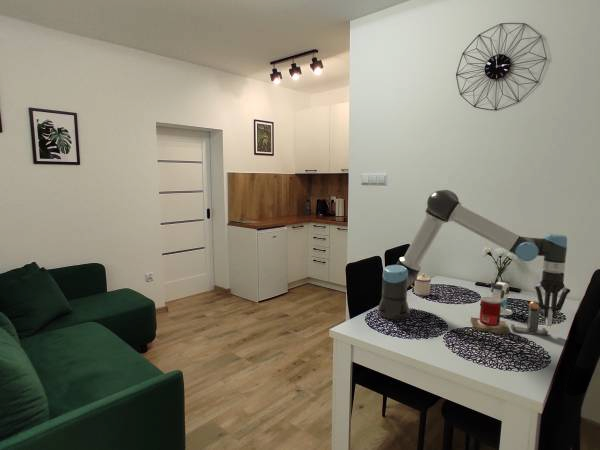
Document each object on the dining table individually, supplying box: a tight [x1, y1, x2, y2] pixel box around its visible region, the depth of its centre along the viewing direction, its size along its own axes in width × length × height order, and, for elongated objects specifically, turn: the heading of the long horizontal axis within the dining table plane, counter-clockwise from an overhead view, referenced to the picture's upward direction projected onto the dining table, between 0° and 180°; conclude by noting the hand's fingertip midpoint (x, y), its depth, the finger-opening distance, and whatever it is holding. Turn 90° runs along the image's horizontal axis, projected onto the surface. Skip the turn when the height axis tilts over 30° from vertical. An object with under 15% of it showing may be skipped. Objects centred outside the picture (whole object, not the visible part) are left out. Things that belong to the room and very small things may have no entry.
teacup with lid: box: [410, 273, 432, 296], centre depth 215 cm, size 12×9×12 cm
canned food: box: [479, 296, 501, 326], centre depth 165 cm, size 8×8×11 cm
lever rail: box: [510, 323, 549, 337], centre depth 160 cm, size 13×4×2 cm, turn 71°
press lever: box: [526, 300, 541, 332], centre depth 159 cm, size 4×4×13 cm
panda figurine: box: [492, 279, 513, 316], centre depth 185 cm, size 12×11×15 cm
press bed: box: [470, 316, 511, 335], centre depth 165 cm, size 14×12×2 cm
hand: (548, 324), depth 158 cm, fingers closed
